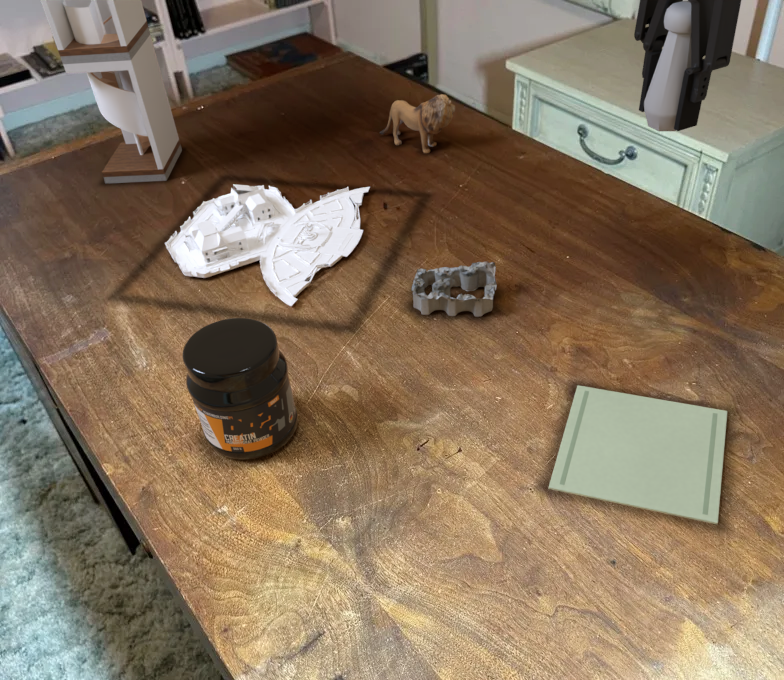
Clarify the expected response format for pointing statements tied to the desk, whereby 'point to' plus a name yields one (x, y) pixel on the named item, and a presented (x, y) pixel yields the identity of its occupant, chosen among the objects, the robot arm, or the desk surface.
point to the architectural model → (269, 236)
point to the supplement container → (240, 388)
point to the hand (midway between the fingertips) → (667, 117)
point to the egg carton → (457, 276)
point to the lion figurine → (421, 118)
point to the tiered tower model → (120, 81)
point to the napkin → (643, 453)
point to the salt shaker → (670, 69)
